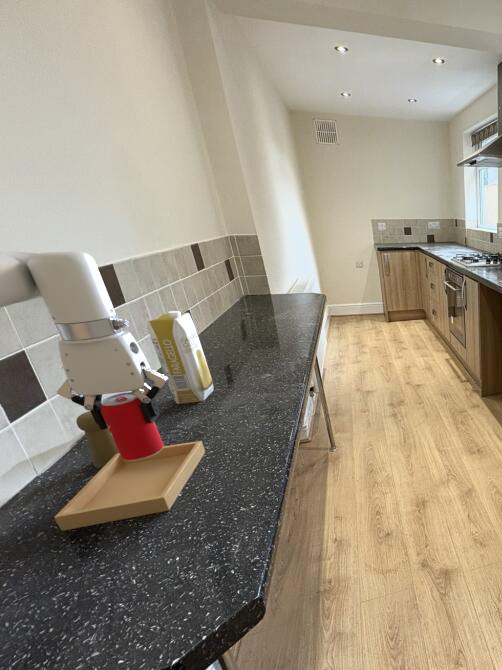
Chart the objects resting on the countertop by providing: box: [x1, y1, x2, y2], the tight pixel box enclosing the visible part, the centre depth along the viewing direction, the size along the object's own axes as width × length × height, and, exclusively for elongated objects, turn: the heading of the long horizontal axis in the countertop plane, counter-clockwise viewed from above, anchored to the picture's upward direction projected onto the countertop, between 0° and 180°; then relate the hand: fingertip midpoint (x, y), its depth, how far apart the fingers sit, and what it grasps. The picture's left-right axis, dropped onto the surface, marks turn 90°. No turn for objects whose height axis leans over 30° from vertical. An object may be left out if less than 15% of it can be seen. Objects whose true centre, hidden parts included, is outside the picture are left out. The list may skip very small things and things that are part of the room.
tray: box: [53, 440, 206, 532], centre depth 76 cm, size 15×20×3 cm
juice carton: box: [146, 310, 215, 405], centre depth 108 cm, size 9×8×24 cm
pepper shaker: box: [75, 410, 119, 469], centre depth 83 cm, size 6×6×11 cm
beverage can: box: [101, 391, 165, 461], centre depth 76 cm, size 6×6×12 cm
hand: (130, 422), depth 76 cm, fingers closed on beverage can, 6 cm apart
